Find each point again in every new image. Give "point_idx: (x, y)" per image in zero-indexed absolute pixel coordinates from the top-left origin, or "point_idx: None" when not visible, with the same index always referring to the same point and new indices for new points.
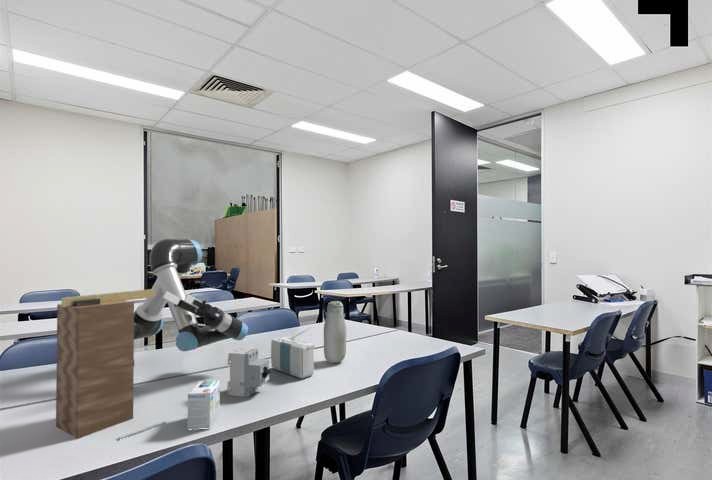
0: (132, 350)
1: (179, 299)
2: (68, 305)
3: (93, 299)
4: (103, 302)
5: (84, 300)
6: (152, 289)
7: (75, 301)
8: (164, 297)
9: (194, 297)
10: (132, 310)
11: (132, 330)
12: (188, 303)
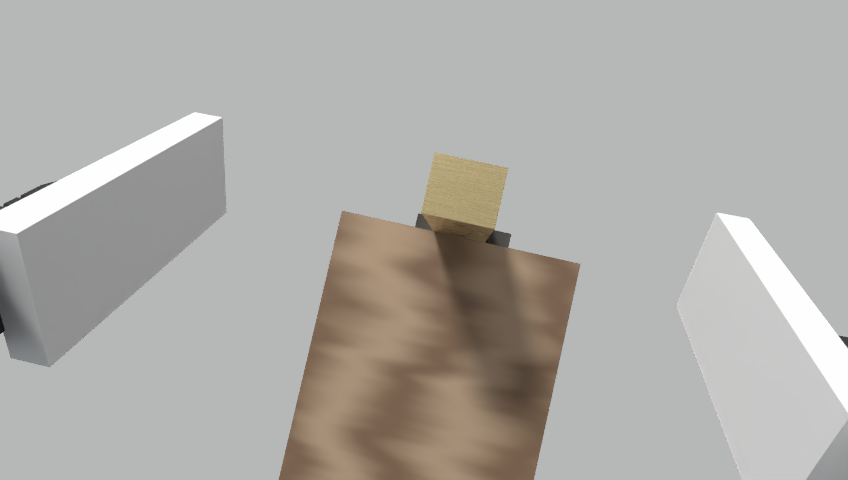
0: (284, 463)
1: (821, 427)
2: None
3: None
4: None
5: None
6: (470, 160)
7: None
8: (684, 306)
9: (120, 149)
10: (332, 254)
11: (309, 358)
12: (172, 250)
